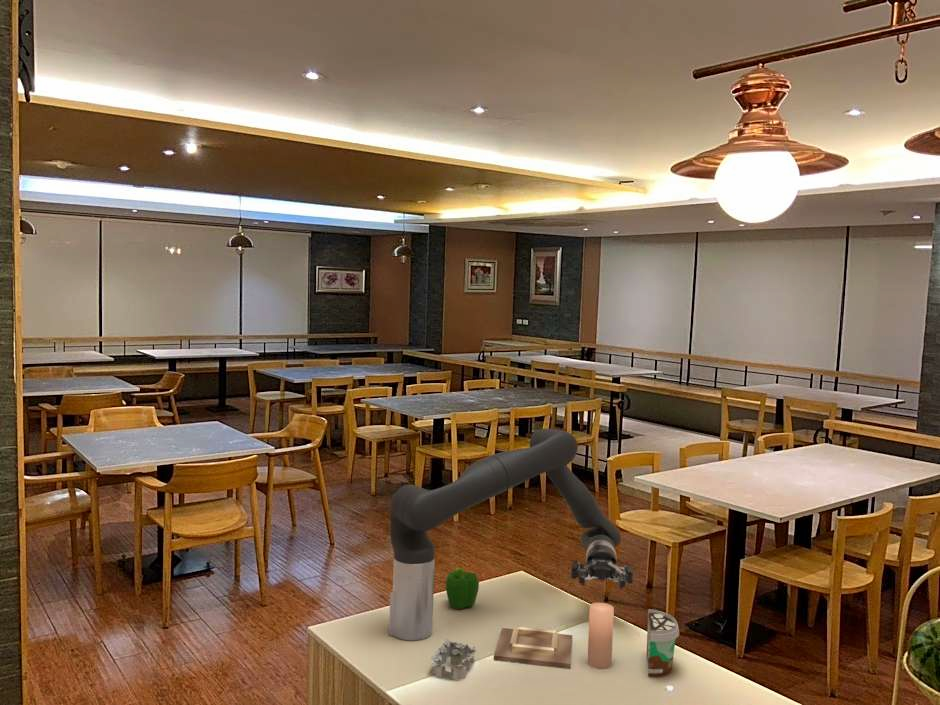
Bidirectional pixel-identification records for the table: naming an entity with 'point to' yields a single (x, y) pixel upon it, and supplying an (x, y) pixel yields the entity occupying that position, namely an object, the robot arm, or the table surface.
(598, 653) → the terracotta pin
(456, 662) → the egg carton
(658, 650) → the food container
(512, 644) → the board
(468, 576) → the bell pepper
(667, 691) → the table surface
